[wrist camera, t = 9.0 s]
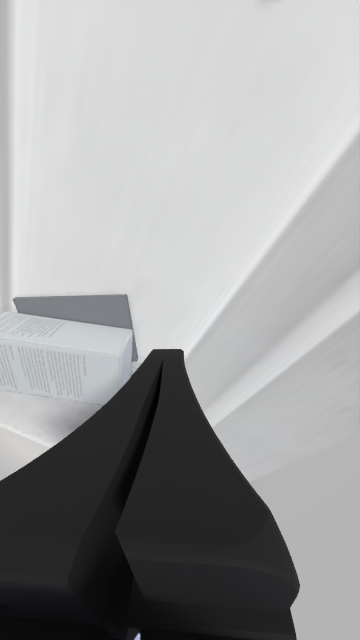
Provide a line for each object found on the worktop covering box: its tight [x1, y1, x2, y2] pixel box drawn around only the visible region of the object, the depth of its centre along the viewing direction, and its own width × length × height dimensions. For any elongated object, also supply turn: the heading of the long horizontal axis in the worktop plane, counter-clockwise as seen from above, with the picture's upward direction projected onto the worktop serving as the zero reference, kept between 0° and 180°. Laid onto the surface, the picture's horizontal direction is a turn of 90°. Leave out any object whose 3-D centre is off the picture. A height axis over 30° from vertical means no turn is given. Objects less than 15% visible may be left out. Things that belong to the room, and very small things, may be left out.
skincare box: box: [0, 312, 133, 405], centre depth 21 cm, size 6×4×12 cm
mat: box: [13, 295, 138, 361], centre depth 22 cm, size 7×10×1 cm, turn 93°
